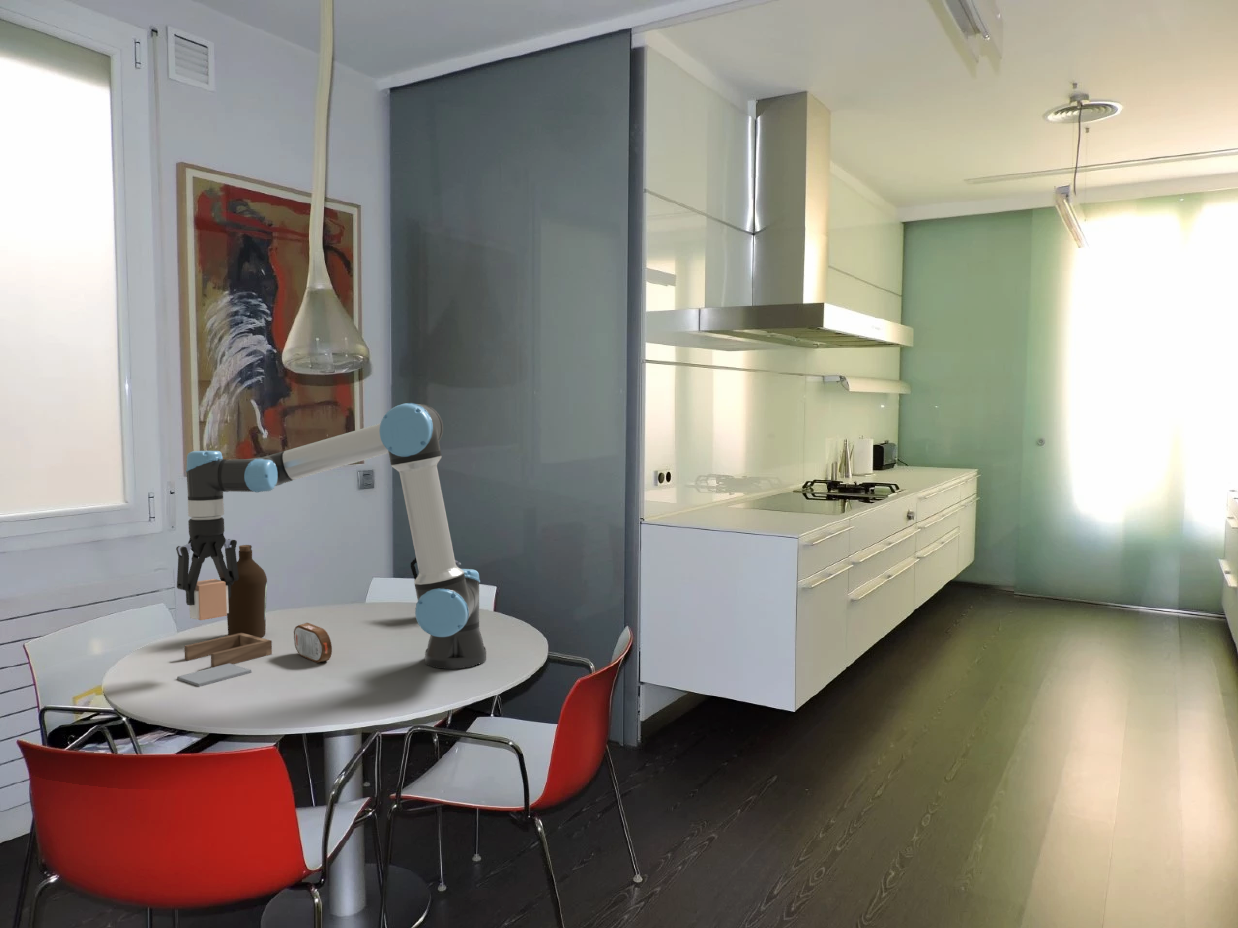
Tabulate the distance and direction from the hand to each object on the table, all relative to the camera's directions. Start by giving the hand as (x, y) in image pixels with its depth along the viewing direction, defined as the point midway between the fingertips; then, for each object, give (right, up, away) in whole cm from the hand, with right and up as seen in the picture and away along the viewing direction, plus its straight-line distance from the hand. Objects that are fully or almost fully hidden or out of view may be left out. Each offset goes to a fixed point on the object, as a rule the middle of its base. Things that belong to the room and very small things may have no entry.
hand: (209, 615), depth 206 cm
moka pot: (+40, -11, +59) cm, 73 cm away
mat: (+1, -14, 0) cm, 14 cm away
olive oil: (-6, -12, +35) cm, 38 cm away
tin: (+19, -14, +15) cm, 28 cm away
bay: (-2, -13, +16) cm, 21 cm away
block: (-1, 0, 0) cm, 1 cm away
